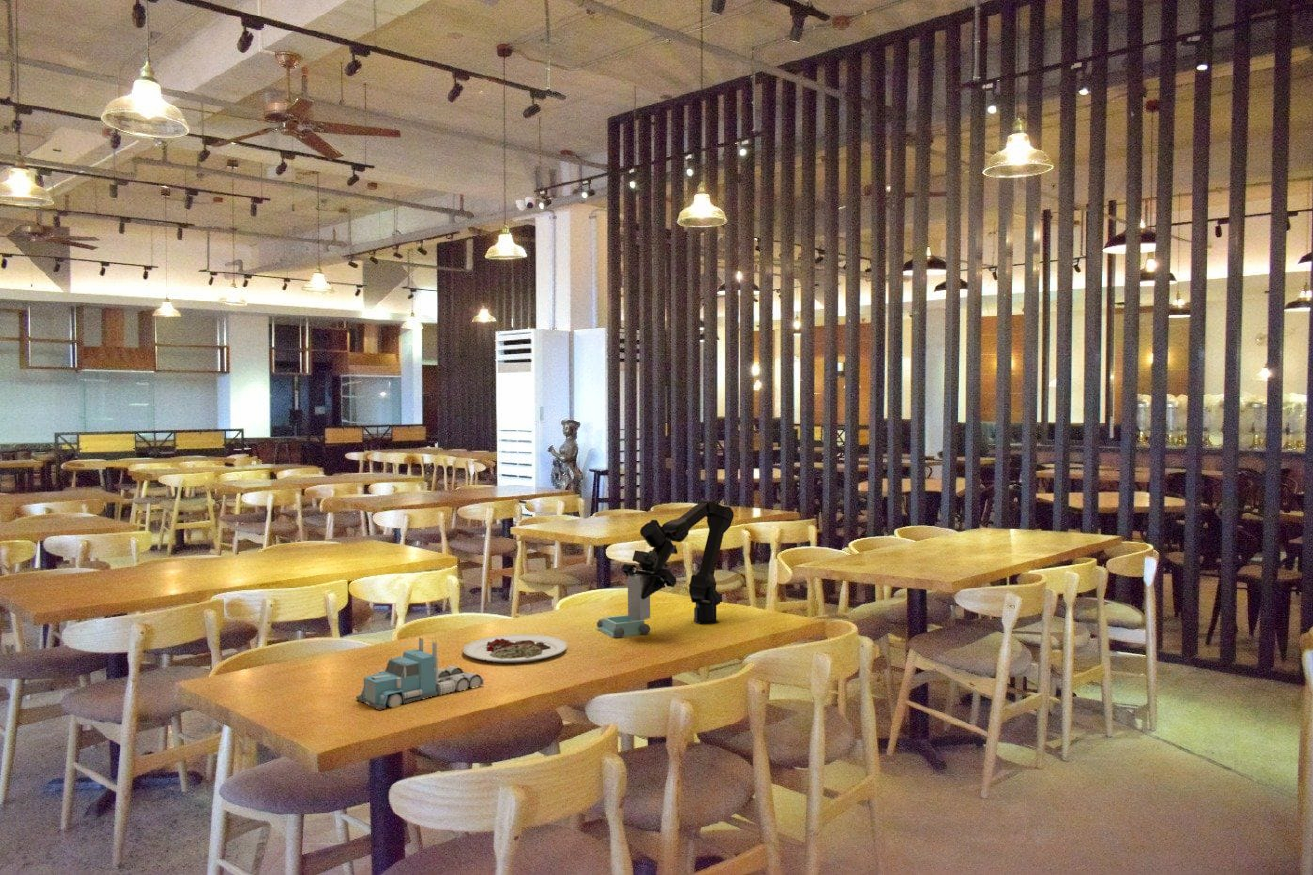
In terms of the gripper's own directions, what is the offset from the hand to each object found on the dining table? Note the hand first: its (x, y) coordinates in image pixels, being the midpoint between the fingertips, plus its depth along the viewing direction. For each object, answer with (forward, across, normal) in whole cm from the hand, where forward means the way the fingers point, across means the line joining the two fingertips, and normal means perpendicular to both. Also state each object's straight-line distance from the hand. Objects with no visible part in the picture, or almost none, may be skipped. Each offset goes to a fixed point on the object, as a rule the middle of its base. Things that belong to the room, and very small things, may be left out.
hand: (635, 597), depth 291 cm
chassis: (+5, -11, +14) cm, 19 cm away
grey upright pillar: (+4, 0, +6) cm, 7 cm away
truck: (+62, -5, -43) cm, 76 cm away
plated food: (+32, -18, -13) cm, 39 cm away
